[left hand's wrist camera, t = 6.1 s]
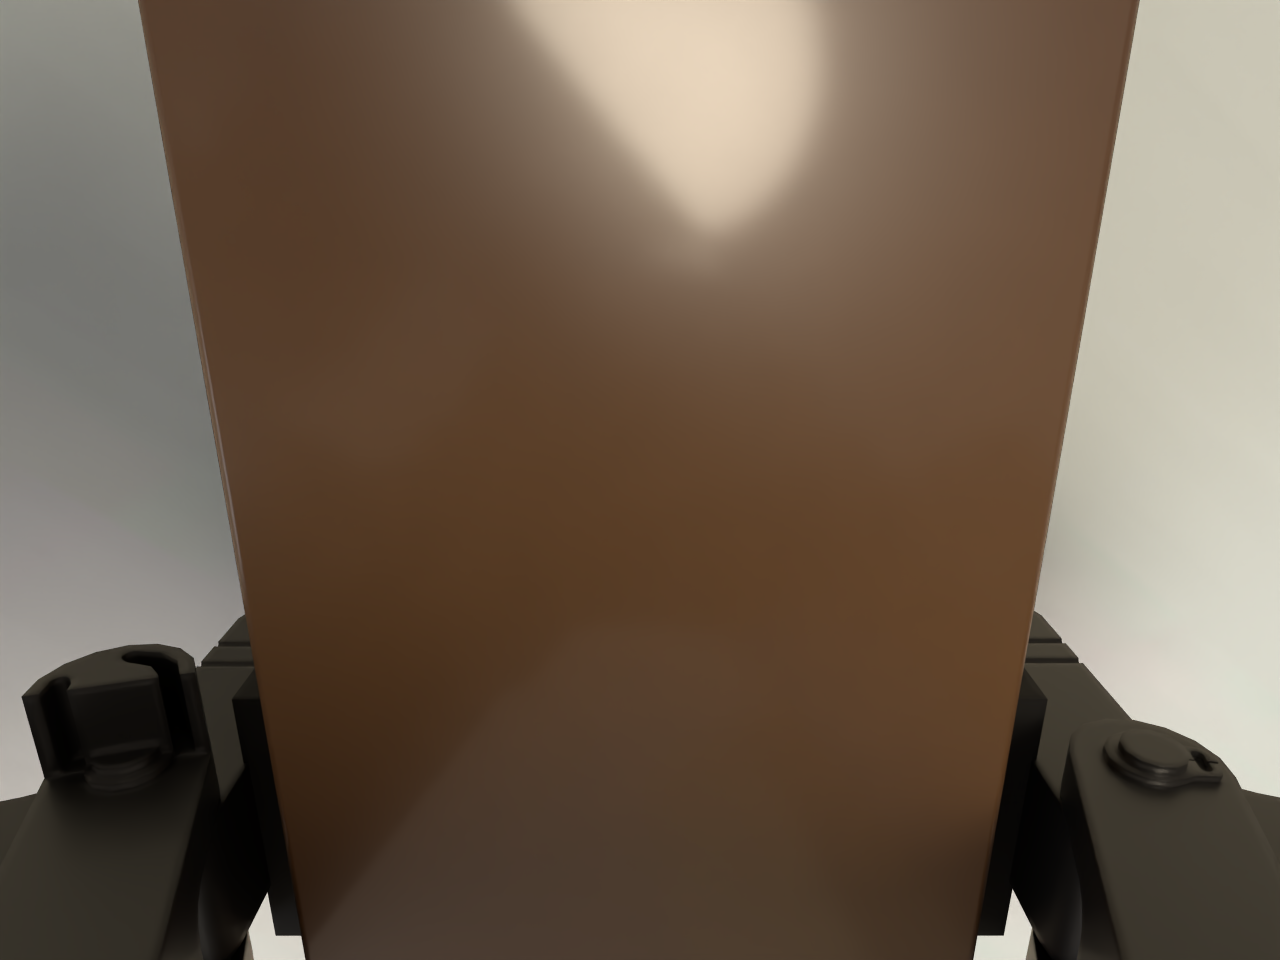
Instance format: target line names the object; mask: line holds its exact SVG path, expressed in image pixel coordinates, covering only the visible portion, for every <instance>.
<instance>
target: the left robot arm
mask: <svg viewBox="0 0 1280 960" xmlns="http://www.w3.org/2000/svg"><path fill="white" fill-rule="evenodd" d="M218 643H219V644H218V647H214V648H213V649H212V650H211V651H210V652H209V653H208V655H207V656H206V657H205V658H204V659H203V660H202V665H201V667H195V662H194V658H193V657H192V656H190V655H189V654H188V653H186V652H185V651H183V650H182V649H181V648H176V647H171V646H166V645H161V644H146V645H128V646H123V647H118V648H113V649H109V650H104V651H99V652H95V653H93V654H90V655H87V656H85V657H82V658H79V659H77V660H74V661H71V662H69V663H66V664H64V665H62V666H60V667H59V668H57V669H55V670H54V671H52V672H50V673H49V674H47V675H45V676H43V677H42V678H40V679H38V680H37V681H36V682H35V683H34V684H33V685H32V687H31V688H30V689H29V690H28V691H27V692H26V693H25V694H24V695H23V696H22V700H23V704H24V707H25V711H26V714H27V718H28V721H29V725H30V728H31V732H32V735H33V739H34V742H35V746H36V750H37V753H38V757H39V760H40V764H41V767H42V771H43V774H44V780H43V782H42V784H41V786H40V788H39V790H38V792H37V794H33V795H29V796H25V797H21V798H16V799H11V800H6V801H1V802H0V960H254V959H253V951H252V946H251V941H250V936H249V931H248V930H249V928H250V926H251V924H252V922H253V920H254V918H255V916H256V914H257V912H258V910H259V908H260V906H261V904H262V902H263V900H264V898H265V896H266V894H267V892H268V897H269V902H270V907H271V913H272V918H273V923H274V929H275V934H276V936H301V931H300V925H299V919H298V914H297V908H296V902H295V896H294V891H293V885H292V879H291V873H290V868H289V862H288V856H287V851H286V845H285V839H284V833H283V828H282V822H281V816H280V810H279V805H278V799H277V793H276V788H275V782H274V776H273V770H272V765H271V759H270V753H269V747H268V742H267V736H266V730H265V725H264V719H263V713H262V707H261V702H260V696H259V690H258V684H257V679H256V673H255V667H254V662H253V656H252V650H251V644H250V639H249V633H248V627H247V621H246V616H245V615H244V616H242V617H240V618H239V619H238V620H237V621H236V622H235V623H234V624H233V626H232V627H231V628H230V629H229V630H228V631H227V633H226V634H225V635H224V636H223V637H222V638H221V640H220V641H219V642H218ZM1012 888H1013V890H1014V892H1015V894H1016V896H1017V898H1018V900H1019V902H1020V904H1021V906H1022V908H1023V910H1024V912H1025V914H1026V916H1027V918H1028V920H1029V922H1030V924H1031V926H1032V931H1031V936H1030V941H1029V946H1028V951H1027V956H1026V960H1280V798H1279V797H1274V796H1269V795H1264V794H1259V793H1255V792H1251V791H1247V790H1244V789H1241V787H1240V785H1239V783H1238V781H1237V779H1236V777H1235V776H1234V775H1233V773H1232V772H1231V771H1230V770H1229V768H1228V767H1227V766H1226V765H1225V764H1224V762H1223V761H1222V760H1221V759H1220V758H1219V757H1218V756H1216V755H1215V754H1213V753H1212V752H1211V751H1209V750H1208V749H1206V748H1205V747H1203V746H1202V745H1200V744H1199V743H1198V742H1196V741H1194V740H1192V739H1190V738H1187V737H1185V736H1183V735H1181V734H1178V733H1176V732H1174V731H1171V730H1169V729H1167V728H1164V727H1160V726H1156V725H1152V724H1148V723H1144V722H1140V721H1136V720H1132V719H1131V718H1130V717H1129V716H1128V715H1127V714H1126V712H1125V711H1124V710H1123V709H1122V708H1121V707H1120V705H1119V704H1118V703H1117V702H1116V701H1115V700H1114V699H1113V697H1112V696H1111V695H1110V694H1109V693H1108V692H1107V691H1106V689H1105V688H1104V687H1103V686H1102V685H1101V684H1100V682H1099V681H1098V680H1097V679H1096V678H1095V677H1094V676H1093V674H1092V673H1091V672H1090V671H1089V670H1088V669H1087V667H1086V666H1085V665H1084V664H1083V663H1079V661H1078V657H1077V656H1076V655H1075V654H1074V652H1073V651H1072V650H1071V649H1070V648H1069V647H1068V646H1067V644H1066V643H1062V639H1061V637H1060V636H1059V635H1058V634H1057V633H1056V632H1055V631H1054V629H1053V628H1052V627H1051V626H1050V625H1049V624H1048V622H1047V621H1046V620H1045V619H1044V618H1043V617H1042V616H1041V615H1040V614H1038V613H1037V612H1035V611H1034V612H1033V618H1032V623H1031V629H1030V635H1029V641H1028V646H1027V652H1026V658H1025V664H1024V669H1023V675H1022V681H1021V687H1020V692H1019V698H1018V704H1017V710H1016V716H1015V721H1014V727H1013V733H1012V739H1011V744H1010V750H1009V756H1008V762H1007V767H1006V773H1005V779H1004V785H1003V790H1002V796H1001V802H1000V808H999V814H998V819H997V825H996V831H995V837H994V842H993V848H992V854H991V860H990V865H989V871H988V877H987V883H986V888H985V894H984V900H983V906H982V911H981V917H980V923H979V929H978V935H977V936H1004V931H1005V926H1006V920H1007V915H1008V910H1009V904H1010V899H1011V894H1012Z"/></svg>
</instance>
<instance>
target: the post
mask: <svg viewBox="0 0 1280 960" xmlns="http://www.w3.org/2000/svg"><path fill="white" fill-rule="evenodd" d="M1139 1H1140V0H138V3H139V8H140V14H141V20H142V26H143V31H144V37H145V43H146V48H147V54H148V60H149V66H150V71H151V77H152V83H153V89H154V94H155V100H156V106H157V112H158V117H159V123H160V129H161V134H162V140H163V146H164V152H165V157H166V163H167V169H168V175H169V180H170V186H171V192H172V197H173V203H174V209H175V215H176V220H177V226H178V232H179V238H180V243H181V249H182V255H183V260H184V266H185V272H186V278H187V283H188V289H189V295H190V301H191V306H192V312H193V318H194V324H195V329H196V335H197V341H198V346H199V352H200V358H201V364H202V369H203V375H204V381H205V387H206V392H207V398H208V404H209V409H210V415H211V421H212V427H213V432H214V438H215V444H216V450H217V455H218V461H219V467H220V472H221V478H222V484H223V490H224V495H225V501H226V507H227V513H228V518H229V524H230V530H231V535H232V541H233V547H234V553H235V558H236V564H237V570H238V576H239V581H240V587H241V593H242V598H243V604H244V610H245V616H246V621H247V627H248V633H249V639H250V644H251V650H252V656H253V662H254V667H255V673H256V679H257V684H258V690H259V696H260V702H261V707H262V713H263V719H264V725H265V730H266V736H267V742H268V747H269V753H270V759H271V765H272V770H273V776H274V782H275V788H276V793H277V799H278V805H279V810H280V816H281V822H282V828H283V833H284V839H285V845H286V851H287V856H288V862H289V868H290V873H291V879H292V885H293V891H294V896H295V902H296V908H297V914H298V919H299V925H300V931H301V937H302V942H303V948H304V954H305V959H306V960H973V958H974V952H975V946H976V940H977V935H978V929H979V923H980V917H981V911H982V906H983V900H984V894H985V888H986V883H987V877H988V871H989V865H990V860H991V854H992V848H993V842H994V837H995V831H996V825H997V819H998V814H999V808H1000V802H1001V796H1002V790H1003V785H1004V779H1005V773H1006V767H1007V762H1008V756H1009V750H1010V744H1011V739H1012V733H1013V727H1014V721H1015V716H1016V710H1017V704H1018V698H1019V692H1020V687H1021V681H1022V675H1023V669H1024V664H1025V658H1026V652H1027V646H1028V641H1029V635H1030V629H1031V623H1032V618H1033V612H1034V606H1035V600H1036V595H1037V589H1038V583H1039V577H1040V571H1041V566H1042V560H1043V554H1044V548H1045V543H1046V537H1047V531H1048V525H1049V520H1050V514H1051V508H1052V502H1053V497H1054V491H1055V485H1056V479H1057V473H1058V468H1059V462H1060V456H1061V450H1062V445H1063V439H1064V433H1065V427H1066V422H1067V416H1068V410H1069V404H1070V399H1071V393H1072V387H1073V381H1074V375H1075V370H1076V364H1077V358H1078V352H1079V347H1080V341H1081V335H1082V329H1083V324H1084V318H1085V312H1086V306H1087V301H1088V295H1089V289H1090V283H1091V278H1092V272H1093V266H1094V260H1095V254H1096V249H1097V243H1098V237H1099V231H1100V226H1101V220H1102V214H1103V208H1104V203H1105V197H1106V191H1107V185H1108V180H1109V174H1110V168H1111V162H1112V156H1113V151H1114V145H1115V139H1116V133H1117V128H1118V122H1119V116H1120V110H1121V105H1122V99H1123V93H1124V87H1125V82H1126V76H1127V70H1128V64H1129V59H1130V53H1131V47H1132V41H1133V35H1134V30H1135V24H1136V18H1137V12H1138V7H1139Z"/></svg>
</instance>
